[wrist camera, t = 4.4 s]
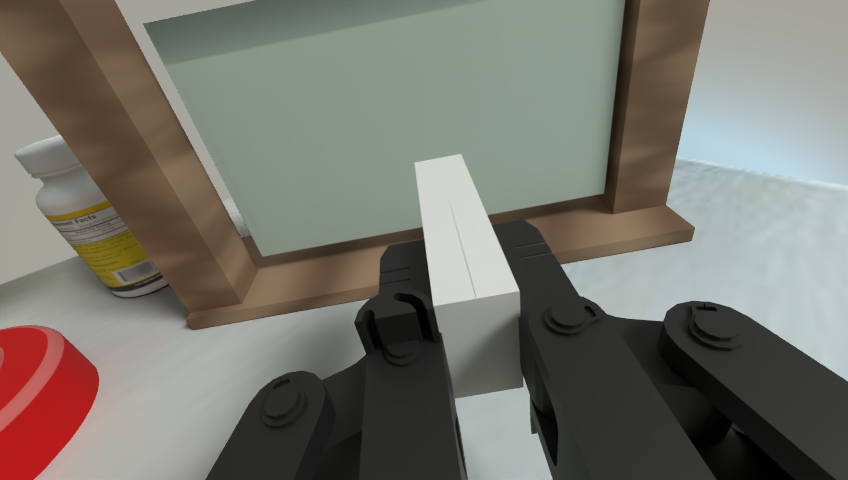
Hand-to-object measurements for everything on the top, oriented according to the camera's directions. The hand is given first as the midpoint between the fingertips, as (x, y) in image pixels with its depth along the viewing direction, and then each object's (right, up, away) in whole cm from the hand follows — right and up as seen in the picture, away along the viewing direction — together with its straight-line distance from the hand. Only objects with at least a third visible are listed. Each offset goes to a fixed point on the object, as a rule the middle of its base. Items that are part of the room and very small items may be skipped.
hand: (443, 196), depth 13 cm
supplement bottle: (-19, -4, +14) cm, 24 cm away
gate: (0, 0, +10) cm, 10 cm away
